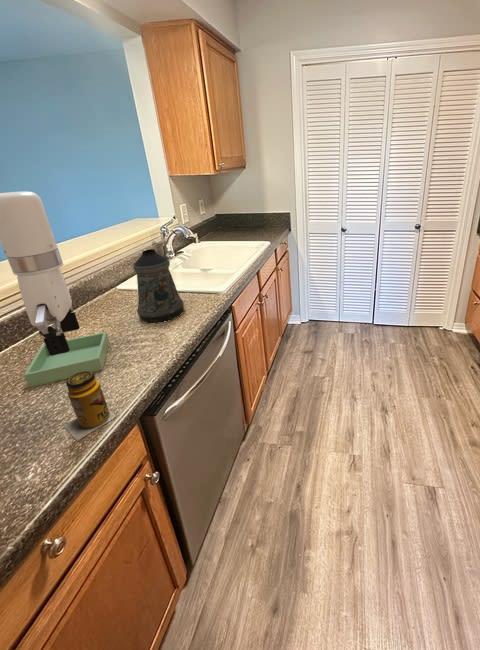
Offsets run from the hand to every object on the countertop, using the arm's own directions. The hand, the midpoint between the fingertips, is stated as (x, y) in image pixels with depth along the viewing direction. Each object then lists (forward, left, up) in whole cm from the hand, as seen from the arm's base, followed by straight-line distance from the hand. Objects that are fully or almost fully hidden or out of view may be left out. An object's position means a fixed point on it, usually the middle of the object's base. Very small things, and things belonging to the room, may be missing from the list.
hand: (66, 341), depth 66 cm
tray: (-10, +30, -22) cm, 39 cm away
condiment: (-1, 0, -22) cm, 22 cm away
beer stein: (+15, +54, -22) cm, 60 cm away
